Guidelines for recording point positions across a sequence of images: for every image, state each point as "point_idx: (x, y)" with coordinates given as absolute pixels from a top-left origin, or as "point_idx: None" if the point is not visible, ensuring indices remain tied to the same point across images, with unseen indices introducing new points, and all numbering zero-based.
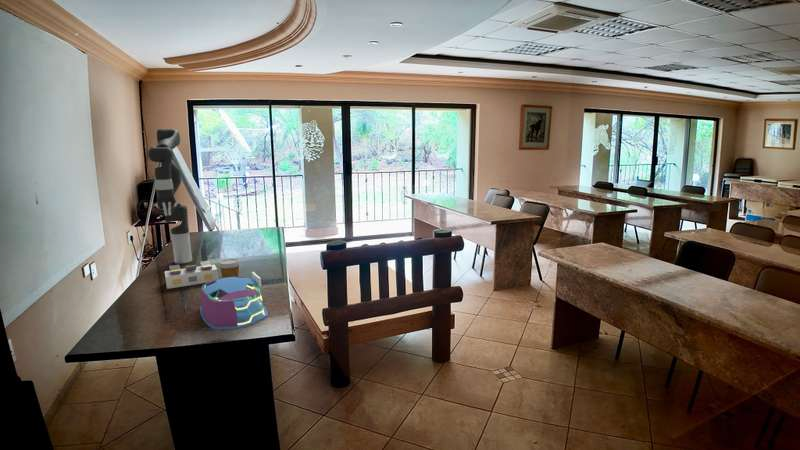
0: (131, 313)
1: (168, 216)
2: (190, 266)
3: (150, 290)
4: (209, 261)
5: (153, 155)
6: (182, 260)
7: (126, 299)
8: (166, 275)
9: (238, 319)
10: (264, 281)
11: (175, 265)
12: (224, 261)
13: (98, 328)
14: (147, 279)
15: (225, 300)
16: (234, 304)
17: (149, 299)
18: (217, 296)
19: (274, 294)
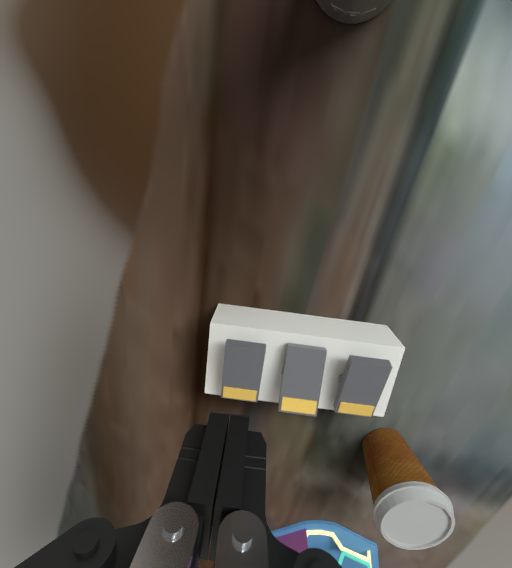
0: (120, 481)
1: (214, 544)
2: (295, 411)
3: (166, 349)
4: (386, 377)
5: None
6: (344, 13)
7: (103, 385)
8: (209, 378)
9: None
10: (473, 471)
11: (249, 351)
12: (406, 507)
13: (64, 514)
14: (162, 212)
15: (319, 536)
16: None
17: (160, 421)
18: (305, 544)
19: (431, 557)
